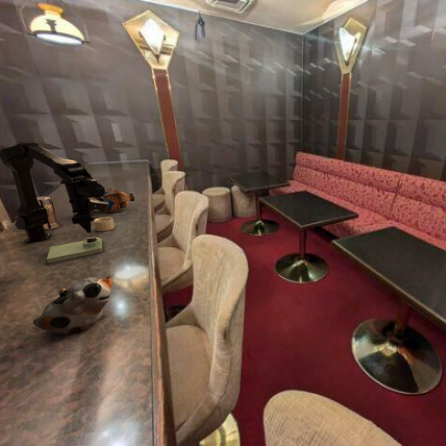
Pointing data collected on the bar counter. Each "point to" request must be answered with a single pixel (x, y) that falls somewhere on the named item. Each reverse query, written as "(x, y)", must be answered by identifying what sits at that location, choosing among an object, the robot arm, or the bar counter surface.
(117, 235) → the bar counter surface
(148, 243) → the bar counter surface
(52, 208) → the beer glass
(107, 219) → the bowl
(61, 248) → the scale
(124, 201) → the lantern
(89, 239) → the tare button
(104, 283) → the lucky cat figurine
